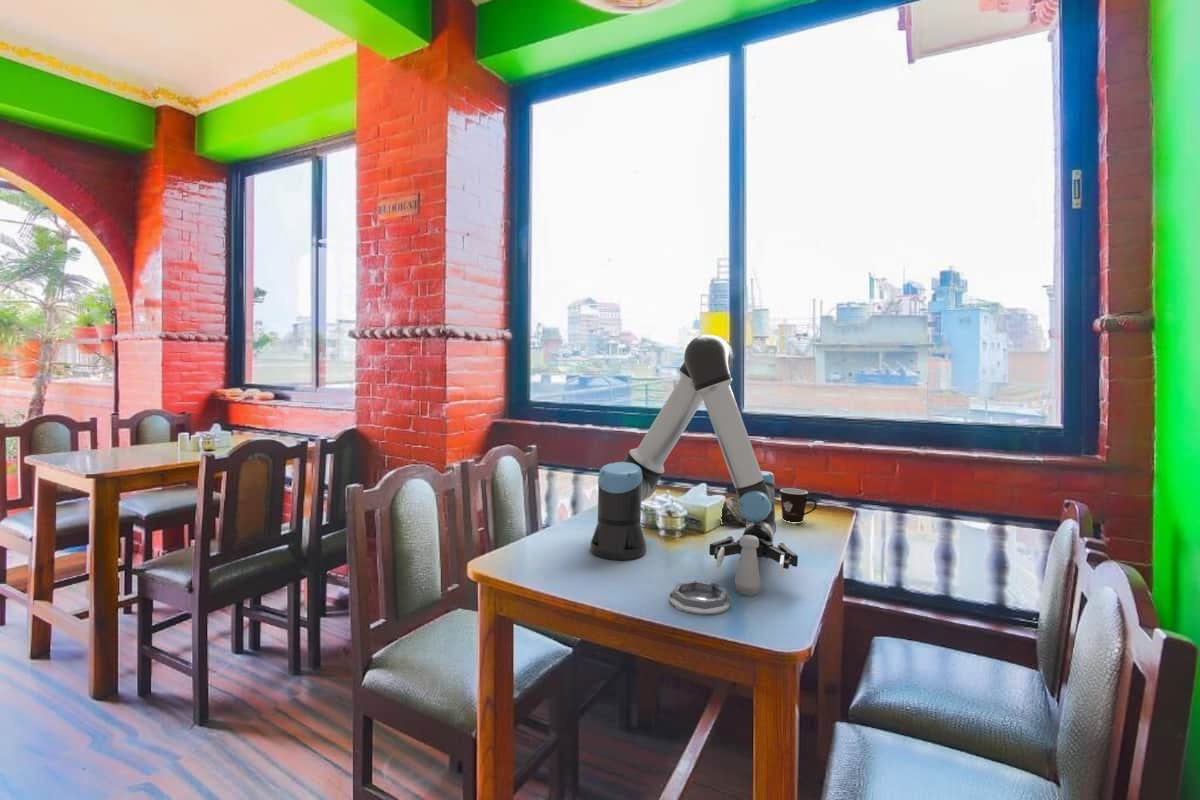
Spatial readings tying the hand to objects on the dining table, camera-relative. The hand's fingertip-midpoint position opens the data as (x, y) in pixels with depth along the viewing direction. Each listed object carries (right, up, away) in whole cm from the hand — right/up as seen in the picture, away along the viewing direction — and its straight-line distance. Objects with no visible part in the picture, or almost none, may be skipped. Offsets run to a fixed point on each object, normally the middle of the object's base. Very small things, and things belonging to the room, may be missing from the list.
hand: (749, 565), depth 133 cm
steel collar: (-12, -7, -4) cm, 14 cm away
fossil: (+10, -3, +60) cm, 61 cm away
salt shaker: (0, -7, +3) cm, 7 cm away
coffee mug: (+31, -3, +63) cm, 70 cm away
